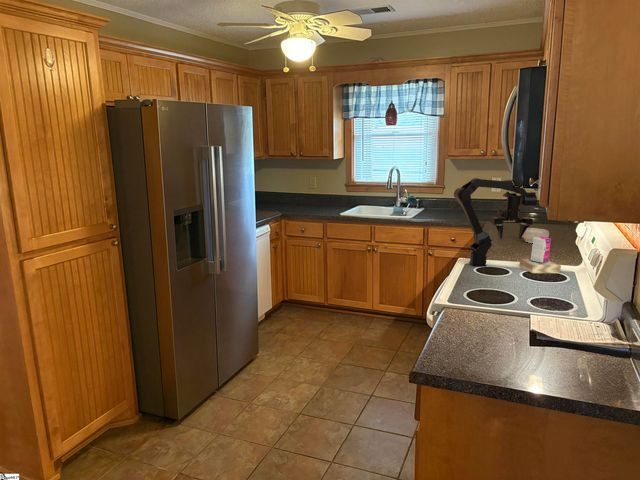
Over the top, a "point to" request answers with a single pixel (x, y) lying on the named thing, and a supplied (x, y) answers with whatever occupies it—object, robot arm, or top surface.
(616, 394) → the top surface
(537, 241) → the supplement box
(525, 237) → the paper bowls
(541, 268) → the block
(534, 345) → the top surface
